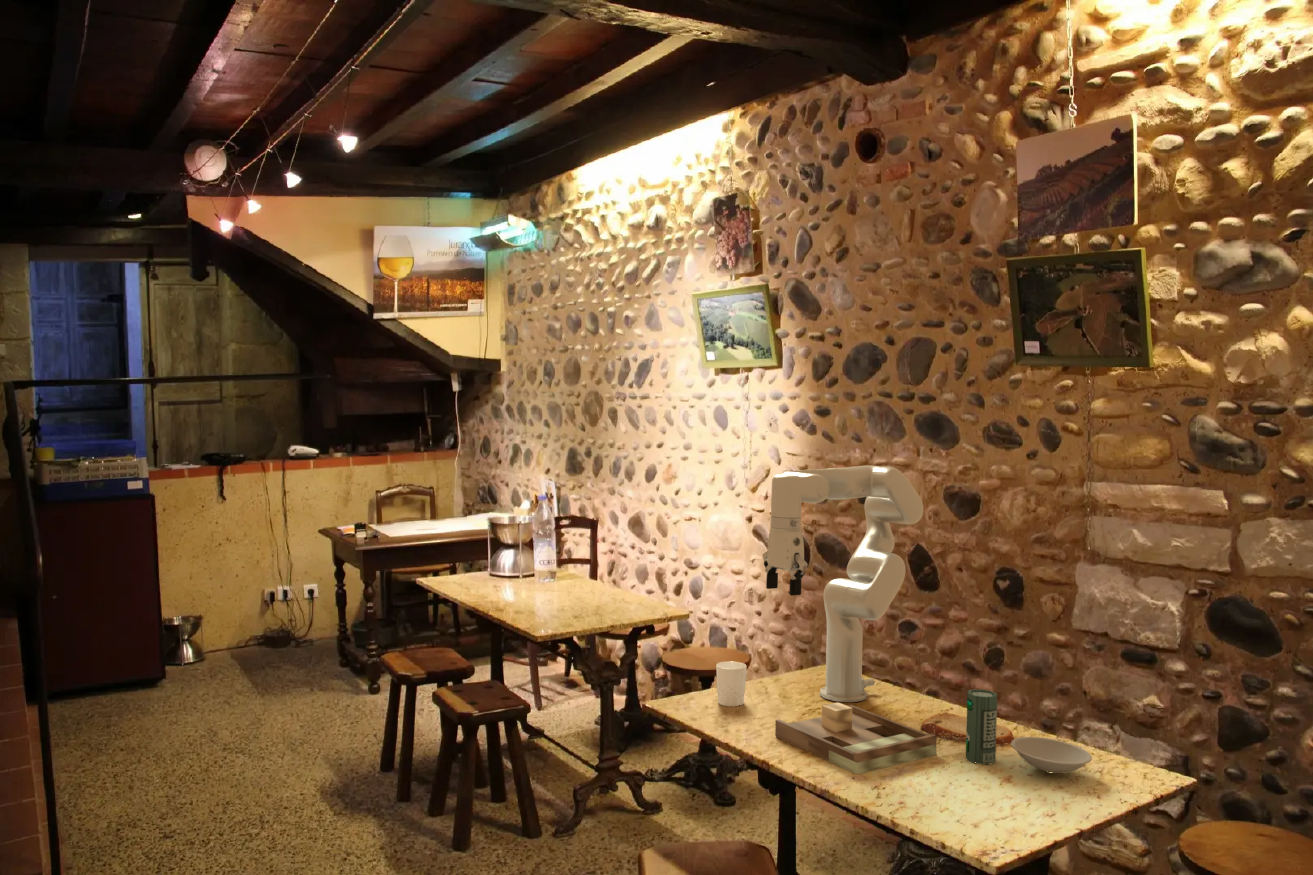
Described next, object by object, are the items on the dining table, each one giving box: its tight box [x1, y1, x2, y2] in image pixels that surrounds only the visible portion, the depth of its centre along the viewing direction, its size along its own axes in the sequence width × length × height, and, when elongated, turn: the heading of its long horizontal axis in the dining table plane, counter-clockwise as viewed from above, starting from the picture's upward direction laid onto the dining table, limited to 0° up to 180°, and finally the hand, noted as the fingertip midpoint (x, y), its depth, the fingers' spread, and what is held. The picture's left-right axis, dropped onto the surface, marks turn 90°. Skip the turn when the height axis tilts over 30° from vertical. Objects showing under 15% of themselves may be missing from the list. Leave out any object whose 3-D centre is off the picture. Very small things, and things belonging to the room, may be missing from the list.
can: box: [965, 688, 998, 765], centre depth 234 cm, size 6×6×15 cm
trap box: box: [774, 704, 938, 775], centre depth 242 cm, size 24×28×4 cm
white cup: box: [715, 660, 747, 707], centre depth 274 cm, size 8×8×10 cm
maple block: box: [821, 702, 852, 732], centre depth 247 cm, size 5×5×5 cm
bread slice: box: [920, 712, 1015, 745], centre depth 252 cm, size 18×18×4 cm
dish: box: [1010, 736, 1093, 774], centre depth 227 cm, size 18×14×5 cm
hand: (783, 591), depth 263 cm, fingers open, 9 cm apart
